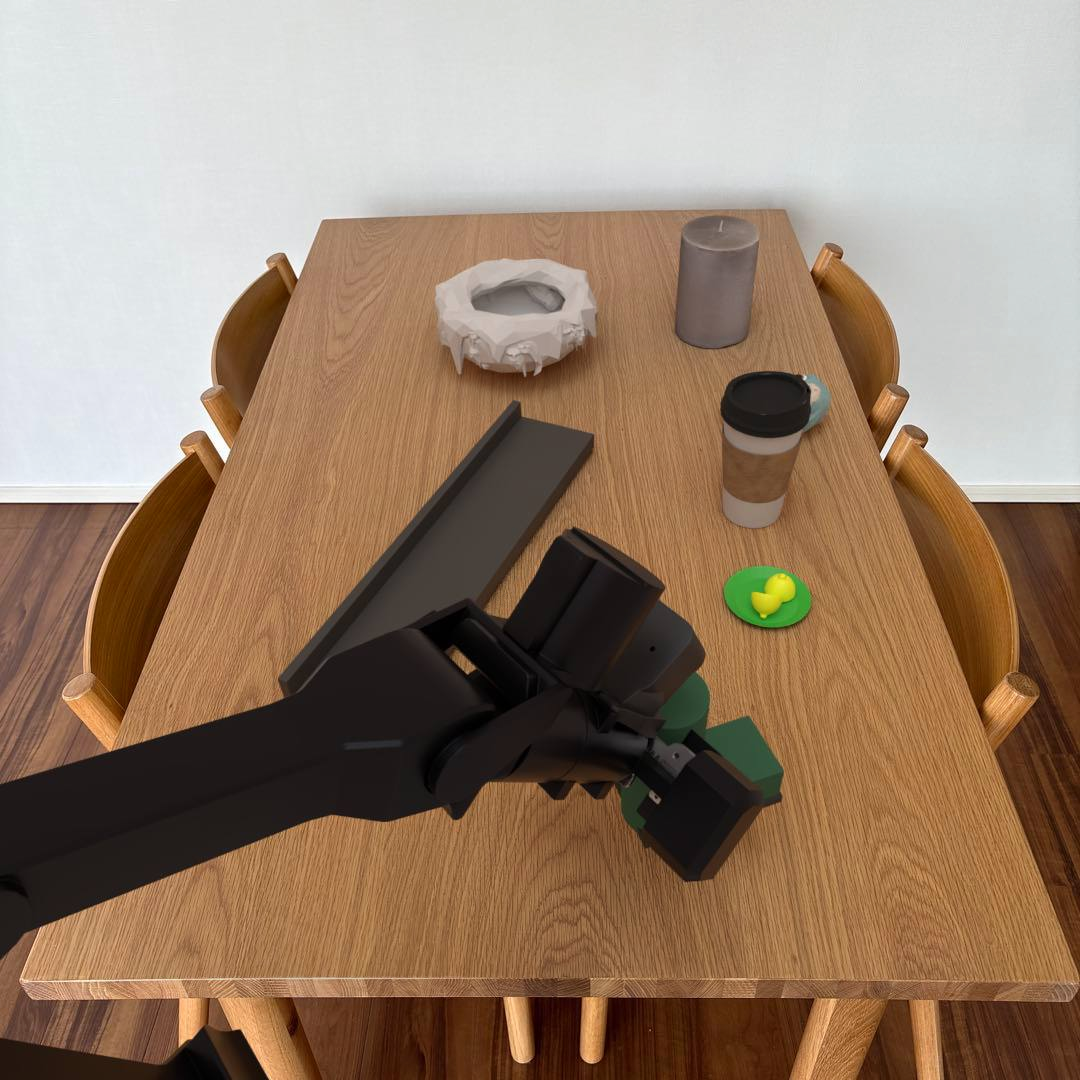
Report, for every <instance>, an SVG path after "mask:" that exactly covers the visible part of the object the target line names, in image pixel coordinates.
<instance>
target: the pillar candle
mask: <svg viewBox="0 0 1080 1080" xmlns="http://www.w3.org/2000/svg"><path fill="white" fill-rule="evenodd" d="M760 239H761V231H760V229H759V227H758V226H757V225H756V224H755V223H754V222H752V221H749V220H747V219H746V218H741V217H738V216H737V217H736V216H731V215H723V214H722V215H721V214H720V215H718V214H713V215H706V216H701V217H697V218H694V219H691V220H689V221H688V222H686V223H685V224H684V225H683V226H682V227H681V231H680V246H679V247H680V248H679V258H678V259H679V261H678V275H677V288H676V289H677V290H676V302H675V303H676V304H675V318H674V332H675V335H677V336H678V338H679V339H680V340H681V341H683V342H685V343H687V344H689V345H691V346H695V347H699V348H704V349H713V350H715V349H722V348H724V347H728V346H732V345H736V344H739V343H741V342H742V341H744V340H745V339H746V337H747V336H748V334H749V330H750V323H751V317H752V307H753V306H752V304H753V299H754V289H755V277H756V272H757V264H758V257H759V256H758V255H759V247H760Z"/></svg>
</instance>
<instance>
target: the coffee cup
mask: <svg viewBox="0 0 1080 1080" xmlns="http://www.w3.org/2000/svg"><path fill="white" fill-rule="evenodd" d="M786 372H787V371H780V370H779V371H778V370H777V371H776V370H761V371H760V370H759V371H751V372H747V373H743V374H741V375H738V376H736V377H734V378H732V379H731V380H730V381H729V382H728V383H727V385H726V386H725V390H724V393H723V396H722V397H721V399H720V408H719V411H720V416H721V418H722V420H723V423H722V426H721V464H722V465H721V470H722V471H721V473H722V474H721V475H722V476H721V477H722V479H721V480H722V481H721V482H722V511H723V514H724V516H725V517H726V519H728V520H729V521H730V522H731V523H733V524H734V525H736V526H739V527H742V528H745V529H762V528H766V527H770V526H771V525H773V524H774V523H776V522H777V520H778V519H779V518H780V515H781V512H782V508H783V505H784V502H785V498H786V494H787V490H788V488H789V484H790V481H791V478H792V474H793V472H794V467H795V465H796V461H797V458H798V454H799V450H800V448H801V444H802V441H803V437H804V433H803V432H802V429H803V428H804V427H805V426H806V425H807V424H808V421H809V419H810V414H811V405H810V399H811V389H810V387H809V386H808V384H807V383H806V382H805V381H804V380H803V379H802V378H800V377H798V376H797V375H795V373H791V372H789V373H786Z"/></svg>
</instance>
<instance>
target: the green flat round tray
mask: <svg viewBox="0 0 1080 1080" xmlns="http://www.w3.org/2000/svg"><path fill="white" fill-rule="evenodd" d="M723 592H724V593H723V596H724V600H725V602H726V605H727V606H728V608H729V609H730V610H731V611H732V613H733V614H735V615H736V616H737V617H738V618H740V619H742V620H743V621H744V622H747V623H749V624H752V625H756V626H759V627H762V628H763V627H765V628H782V627H788V626H791V625H793V624H796V623H798V622H800V621H801V620H802V619H804V617H806V616H807V614H808V612H810V609H811V606H812V596H811V592H810V590H809V588H808V586H807V585H806V583H804V582H803V580H802V579H800V578H799V577H798V576H797V575H795V574H793V573H791V572H789V571H787V570H786V569H783V568H779V567H775V566H767V565H756V566H755V565H754V566H750V567H745V568H743V569H741V570H739V571H737V572H735V573H733V575H732V576H730V577H729V579H728V580H727V581H726V584H725V586H724V591H723Z"/></svg>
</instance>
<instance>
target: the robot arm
mask: <svg viewBox="0 0 1080 1080" xmlns="http://www.w3.org/2000/svg"><path fill="white" fill-rule="evenodd" d="M666 589H667V586H666V585H665V584H664V583H663V581H662V580H661V579H660V578H658V576H656V575H655V574H654V573H653V572H651V571H650V570H649V569H648V568H646V567H645V566H644V565H643V564H641V563H640V562H639V561H637V560H635V559H634V558H632V557H631V556H630V555H628V554H626V553H625V552H624V551H622V550H620V549H618V547H615V546H613V545H612V544H610V543H608V542H607V541H605V540H604V539H602V538H599V537H598V536H596V535H594V534H592V533H590V532H588V531H586V530H584V529H583V528H579V527H577V526H575V525H572V527H571V528H565V529H564V530H563V531H562V533H561V535H560V534H559V535H558V536H556V537H555V538H554V539H553V541H552V543H551V544H550V546H549V547H548V549H547V551H546V552H545V554H544V556H543V557H542V560H541V562H540V565H539V566H538V570H537V571H536V573H535V574H534V576H533V578H532V580H531V581H530V583H529V584H528V586H527V587H526V589H525V591H524V592H523V594H522V596H521V597H520V599H519V600H518V602H517V604H516V605H515V607H514V609H513V610H512V612H511V613H510V615H509V616H508V617H501V616H496V615H492V614H489V613H488V612H487V611H486V610H485V609H484V608H483V609H482V608H481V607H480V606H479V605H478V604H477V603H476V602H475V601H474V600H472V599H471V598H466V599H464V600H462V601H459V602H457V603H455V604H453V605H451V606H449V607H446V608H444V609H442V610H440V611H438V612H437V611H436V610H433V611H431V612H430V613H428V614H426V615H425V616H423V617H422V618H420V619H418V620H417V621H415V622H414V623H412V624H410V625H407V626H405V627H403V628H401V629H398V630H394V631H391V632H389V633H386V634H383V635H381V636H378V637H376V638H373V639H371V640H369V641H366V642H364V643H362V644H359V645H357V646H354V647H352V648H350V649H347V650H345V651H343V652H340V653H338V654H336V655H333V656H331V657H329V658H327V659H326V660H325V661H324V662H323V663H322V664H321V665H320V666H319V667H318V669H317V670H316V671H315V672H314V673H313V674H312V676H311V677H310V678H309V679H308V680H307V681H306V683H305V684H304V685H303V686H302V687H301V688H300V689H299V691H298V692H296V693H294V694H292V695H290V696H287V697H285V698H284V697H283V698H281V699H279V700H276V701H273V702H271V703H269V704H268V703H267V704H265V705H261V706H259V707H255V708H251V709H248V710H245V711H241V712H238V713H235V714H231V715H228V716H225V717H224V716H223V717H221V718H218V719H215V720H210V721H207V722H205V723H201V724H198V725H194V726H191V727H187V728H184V729H181V730H177V731H175V732H174V731H173V732H171V733H167V734H163V735H161V736H157V737H153V738H150V739H148V740H144V741H140V742H137V743H134V744H130V745H127V746H123V747H120V748H116V749H113V750H110V751H106V752H104V753H103V752H102V753H101V754H97V755H93V756H90V757H87V758H83V759H80V760H76V761H73V762H69V763H67V764H63V765H60V766H56V767H53V768H50V769H45V770H43V771H39V772H36V773H32V774H30V775H26V776H23V777H20V778H16V779H13V780H9V781H6V782H3V783H0V961H2V960H3V959H4V957H6V955H8V953H9V952H10V951H12V949H13V948H14V947H16V946H17V944H18V943H19V942H20V940H21V939H22V938H23V937H24V935H25V934H27V933H29V932H32V931H34V930H37V929H39V928H42V927H45V926H47V925H51V924H52V923H55V922H57V921H60V920H63V919H65V918H67V917H70V916H72V915H75V914H77V913H80V912H82V911H85V910H87V909H90V908H93V907H95V906H98V905H100V904H103V903H106V902H107V901H111V900H113V899H115V898H119V897H120V896H124V895H126V894H128V893H131V892H132V891H135V890H138V889H140V888H144V887H146V886H148V885H151V884H154V883H156V882H159V881H161V880H164V879H166V878H169V877H171V876H174V875H176V874H179V873H181V872H184V871H186V870H188V869H192V868H194V867H196V866H198V865H201V864H204V863H206V862H209V861H212V860H215V859H216V858H220V857H221V856H224V855H226V854H229V853H233V852H235V851H236V850H240V849H242V848H244V847H247V846H249V845H252V844H255V843H257V842H259V841H262V840H265V839H268V838H269V837H272V836H275V835H277V834H280V833H282V832H285V831H287V830H290V829H292V828H294V827H297V826H299V825H302V824H305V823H309V822H312V821H315V820H318V819H323V818H326V817H330V816H337V817H342V818H343V817H344V818H350V819H357V820H364V821H365V820H366V821H371V822H379V823H389V822H393V821H397V820H401V819H404V818H408V817H411V816H414V815H418V814H422V813H425V812H428V811H433V810H436V809H440V808H442V809H443V810H444V811H445V813H446V814H447V815H448V816H449V817H450V819H451V820H453V821H459V820H461V819H462V818H464V817H465V815H466V813H467V811H468V810H469V809H470V807H471V806H472V804H473V802H474V801H475V799H476V797H477V796H478V794H479V793H480V791H481V790H482V788H484V786H485V785H487V784H490V783H509V784H510V783H511V784H512V783H513V784H515V783H517V784H518V783H519V784H521V783H522V784H524V783H525V784H537V785H538V786H539V787H540V788H541V789H542V790H543V791H544V792H545V793H546V794H547V796H549V797H550V798H551V799H552V800H553V801H565V800H566V798H567V797H568V795H569V794H570V792H571V791H572V789H573V788H574V786H575V785H576V784H578V785H579V786H581V788H583V790H585V792H587V794H588V795H590V797H591V798H592V799H593V800H595V801H597V800H598V801H599V800H601V801H602V800H603V801H604V800H605V799H606V798H607V796H608V795H609V793H610V791H611V790H612V789H613V787H614V786H615V785H614V784H615V783H616V781H618V782H619V783H620V784H621V785H622V786H623V787H630V786H631V785H632V783H633V782H634V780H635V778H636V776H637V777H638V778H639V779H640V780H641V781H642V782H643V783H644V784H645V785H646V786H647V787H648V788H649V789H650V790H649V792H648V793H647V795H646V796H645V798H644V799H643V801H642V802H641V804H640V805H639V807H638V808H637V810H636V812H637V813H638V814H639V815H640V816H641V817H642V818H643V819H644V820H645V821H646V823H645V824H644V826H643V829H642V840H643V841H644V842H645V843H646V844H647V845H648V846H649V849H651V850H652V851H653V852H654V853H655V854H656V855H657V856H658V857H659V858H660V859H661V861H663V862H664V863H665V864H666V865H667V866H668V867H669V868H670V869H671V870H672V871H673V872H674V873H675V874H676V875H677V876H678V877H679V878H680V879H681V880H682V881H683V882H684V883H693V882H694V883H695V882H704V881H710V880H714V879H715V877H716V876H717V874H718V873H719V871H720V870H721V869H722V867H723V866H724V865H725V863H726V861H727V860H728V859H729V857H730V856H731V854H732V853H733V851H734V850H735V849H736V847H737V846H738V844H739V843H740V842H741V840H742V838H743V837H744V836H745V834H746V833H747V831H748V830H749V829H750V827H751V826H752V825H753V824H754V822H755V820H756V819H757V817H758V816H759V815H760V813H761V812H762V810H763V809H764V808H763V807H764V806H765V803H764V796H763V790H762V789H761V788H759V787H758V786H757V785H756V784H755V783H754V782H752V781H751V780H750V779H749V778H748V777H747V776H745V775H744V774H743V773H742V772H741V771H740V770H738V769H737V768H736V767H735V766H734V765H733V764H731V763H730V762H729V761H728V760H726V759H725V758H723V756H722V755H721V754H720V753H719V752H718V751H717V750H716V749H715V748H713V747H712V746H711V745H710V744H709V743H708V742H706V741H705V740H704V739H703V738H702V737H701V736H699V735H698V734H697V733H696V732H695V731H694V730H692V729H691V730H690V731H689V733H688V734H687V736H686V737H685V739H684V740H683V742H682V743H681V744H680V743H674V744H671V745H670V746H668V745H666V744H665V743H664V742H663V741H662V740H661V739H660V738H659V737H657V734H658V733H659V731H660V730H661V728H662V727H663V725H664V724H665V722H666V721H667V719H666V718H664V717H663V716H662V715H661V714H660V713H659V712H658V711H659V709H660V708H661V706H662V705H664V704H665V703H666V702H667V701H668V700H669V699H670V698H671V697H672V696H673V694H674V693H675V692H676V691H677V690H678V689H679V688H680V687H681V686H682V685H683V683H684V682H685V681H686V680H687V679H688V678H689V677H690V676H691V675H692V674H693V673H694V672H696V673H697V671H699V669H700V668H701V667H702V666H703V664H704V663H705V660H706V650H705V648H704V645H703V644H702V642H701V641H700V638H699V637H698V635H697V634H696V632H695V630H694V628H693V627H692V625H691V624H690V622H688V621H687V620H686V619H685V618H684V617H682V616H681V615H680V614H678V613H677V612H676V611H674V610H673V609H672V608H670V607H669V606H668V605H667V604H666V603H664V602H663V601H662V600H660V598H661V597H662V595H663V594H664V592H665V590H666ZM452 645H453V646H454V647H455V649H456V650H457V651H458V652H459V653H460V654H461V655H462V656H463V657H464V658H465V659H466V660H467V661H468V662H469V663H470V664H471V665H472V666H473V667H474V668H475V669H472V671H470V672H468V673H466V671H465V670H464V669H463V668H461V666H460V665H458V664H457V662H455V661H454V659H453V658H452V657H451V656H448V655H447V654H446V653H445V651H446V650H447V649H449V648H450V647H451V646H452ZM648 748H649V750H648V752H647V751H646V750H647V749H648ZM652 753H654V754H653V757H652V756H651V755H650V754H652ZM658 757H659V758H658ZM655 758H658V761H657V760H656V759H655ZM631 773H632V774H631ZM0 1080H270V1078H269V1077H268V1075H267V1073H266V1071H265V1070H264V1068H263V1066H262V1064H261V1062H260V1060H259V1059H258V1057H257V1055H256V1054H255V1052H254V1049H253V1048H252V1046H251V1045H250V1042H249V1041H248V1039H247V1037H246V1036H245V1034H244V1032H243V1030H242V1029H241V1028H238V1029H233V1030H225V1031H224V1030H219V1029H216V1028H214V1027H213V1026H211V1025H210V1024H207V1023H205V1024H204V1025H203V1026H202V1027H201V1028H200V1029H199V1030H198V1031H197V1033H196V1034H195V1035H194V1036H193V1037H192V1038H188V1039H186V1040H184V1042H183V1043H182V1044H181V1045H179V1047H177V1049H175V1050H174V1052H172V1053H171V1054H170V1055H169V1056H168V1057H167V1059H166V1060H164V1061H163V1062H162V1063H159V1064H158V1063H157V1064H156V1063H150V1062H144V1061H138V1060H133V1059H126V1058H121V1057H115V1056H114V1057H113V1056H111V1055H110V1056H109V1055H105V1054H98V1053H91V1052H86V1051H80V1050H74V1049H69V1048H62V1047H58V1046H50V1045H45V1044H40V1043H39V1044H38V1043H33V1042H27V1041H21V1040H17V1039H11V1038H5V1037H0Z"/></svg>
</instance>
